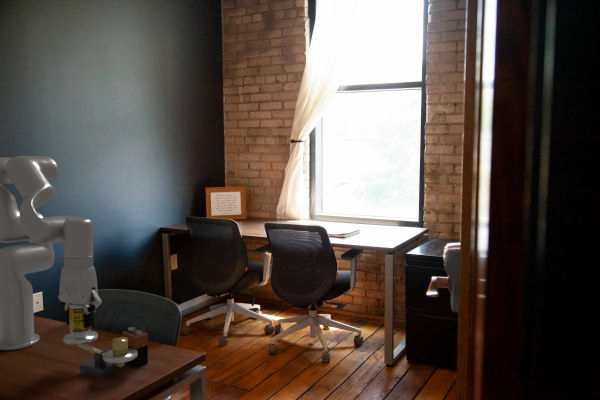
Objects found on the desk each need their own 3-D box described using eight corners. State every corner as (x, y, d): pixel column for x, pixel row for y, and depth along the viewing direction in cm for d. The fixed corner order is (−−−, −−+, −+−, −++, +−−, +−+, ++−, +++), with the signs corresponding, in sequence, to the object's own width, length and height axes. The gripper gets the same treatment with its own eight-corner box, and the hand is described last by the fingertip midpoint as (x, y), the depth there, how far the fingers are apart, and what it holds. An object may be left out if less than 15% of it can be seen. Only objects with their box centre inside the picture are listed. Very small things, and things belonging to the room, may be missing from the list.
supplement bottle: (71, 336, 132) (70, 300, 131) (68, 330, 136) (67, 295, 136) (92, 332, 135) (92, 297, 134) (89, 326, 140) (88, 292, 139)
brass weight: (109, 355, 130) (108, 341, 129) (119, 350, 133) (119, 336, 133) (120, 357, 128) (120, 343, 128) (131, 352, 132) (131, 338, 132)
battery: (135, 357, 143) (134, 325, 143) (148, 363, 139) (148, 330, 139) (122, 362, 140) (121, 328, 139) (135, 368, 136) (135, 334, 135)
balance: (56, 370, 134) (55, 339, 133) (81, 358, 142) (81, 329, 142) (122, 385, 126) (121, 351, 125) (144, 371, 134) (144, 340, 133)
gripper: (44, 262, 134) (46, 325, 135) (92, 267, 128) (93, 333, 129) (66, 257, 141) (68, 317, 142) (112, 262, 135) (113, 325, 136)
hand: (80, 324), depth 136 cm, fingers closed on supplement bottle, 5 cm apart
